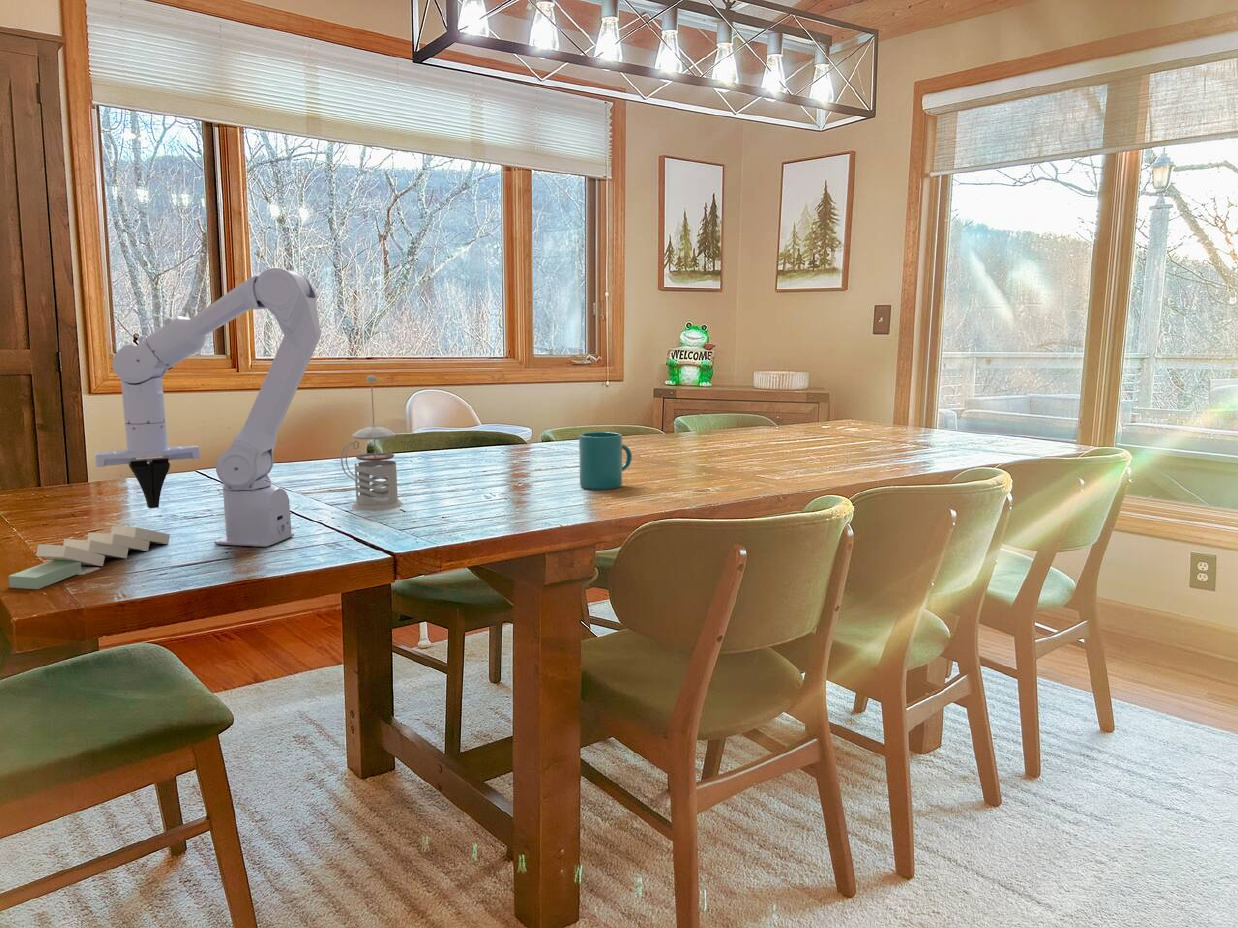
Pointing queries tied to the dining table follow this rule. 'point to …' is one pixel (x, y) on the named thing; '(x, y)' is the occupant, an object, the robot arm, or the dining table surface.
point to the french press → (374, 470)
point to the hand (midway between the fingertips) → (153, 507)
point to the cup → (602, 460)
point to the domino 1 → (45, 574)
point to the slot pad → (87, 570)
